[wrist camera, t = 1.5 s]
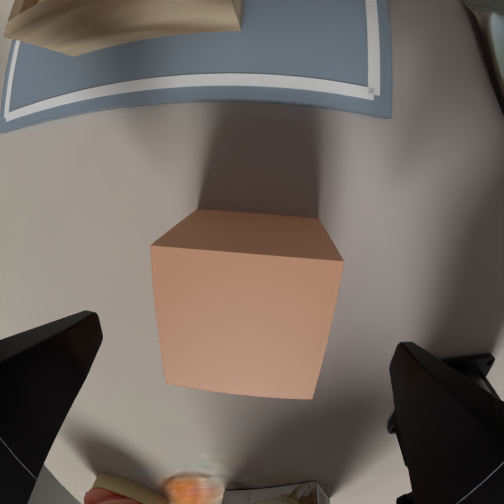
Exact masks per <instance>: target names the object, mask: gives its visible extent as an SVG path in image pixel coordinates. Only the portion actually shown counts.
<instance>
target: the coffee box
mask: <svg viewBox="0 0 504 504" xmlns="http://www.w3.org/2000/svg"><path fill="white" fill-rule="evenodd" d="M222 504H330V499H329V497H328V496H327V495H326V493H325V492H324V491H323V489H322V488H321V487H320V485H319V484H318V482H317V481H311V482H306V483H300V484H294V485H287V486H281V487H272V488H263V489H252V490H236V491H224V494H223V501H222Z"/></svg>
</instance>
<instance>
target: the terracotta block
mask: <svg viewBox="0 0 504 504" xmlns="http://www.w3.org/2000/svg"><path fill="white" fill-rule="evenodd" d="M150 248H151V264H152V277H153V289H154V299H155V309H156V318H157V326H158V334H159V342H160V349H161V355H162V362H163V368H164V374H165V380H166V384H171V385H176V386H182V387H187V388H193V389H200V390H206V391H213V392H220V393H228V394H237V395H246V396H257V397H270V398H286V399H312V398H313V395H314V391H315V388H316V384H317V381H318V377H319V373H320V370H321V366H322V362H323V358H324V354H325V350H326V346H327V342H328V338H329V334H330V329H331V325H332V320H333V316H334V311H335V307H336V302H337V297H338V292H339V287H340V282H341V276H342V271H343V265H344V260H343V259H342V257H341V255H340V253H339V252H338V250H337V248H336V247H335V245H334V243H333V242H332V240H331V238H330V237H329V235H328V233H327V232H326V230H325V228H324V227H323V225H322V223H321V222H320V220H319V219H318V218H311V217H300V216H289V215H277V214H264V213H251V212H237V211H222V210H206V209H197V210H195V211H194V212H193V213H191V214H190V215H189V216H187V217H186V218H185V219H183V220H182V221H181V222H180V223H178V224H177V225H176V226H174V227H173V228H172V229H171V230H169V231H168V232H167V233H165V234H164V235H163V236H162V237H160V238H159V239H158V240H157V241H155V242H154V243H153V244H152V245H150Z"/></svg>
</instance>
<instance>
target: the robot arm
mask: <svg viewBox="0 0 504 504" xmlns="http://www.w3.org/2000/svg"><path fill="white" fill-rule="evenodd" d="M102 340H103V334H102V329H101V325H100V321H99V317H98V315H97V313H95V312H91V311H87V310H86V311H82V312H79V313H76V314H73V315H70V316H68V317H65V318H62V319H59V320H56V321H53V322H50V323H48V324H45V325H42V326H39V327H36V328H33V329H30V330H27V331H25V332H22V333H19V334H16V335H13V336H10V337H7V338H4V339H2V340H0V504H28V501H29V498H30V496H31V493H32V491H33V488H34V486H35V483H36V481H37V480H36V479H37V478H38V476H39V473H40V471H41V469H42V466H43V464H44V462H45V460H46V457H47V455H48V453H49V451H50V449H51V446H52V444H53V442H54V440H55V438H56V436H57V434H58V432H59V430H60V428H61V426H62V424H63V422H64V420H65V418H66V416H67V414H68V412H69V410H70V408H71V406H72V404H73V402H74V400H75V398H76V396H77V395H78V393H79V391H80V389H81V387H82V385H83V383H84V381H85V379H86V377H87V375H88V373H89V371H90V368H91V366H92V363H93V361H94V359H95V357H96V354H97V352H98V350H99V347H100V345H101V343H102ZM494 361H495V358H494V356H493V355H492V354H484V355H476V356H469V357H460V358H451V359H441V360H439V359H438V358H436V357H435V356H433V355H432V354H430V353H429V352H427V351H426V350H424V349H422V348H421V347H419V346H418V345H416V344H415V343H413V342H400V343H399V344H398V345H397V347H396V350H395V353H394V355H393V358H392V360H391V363H390V368H389V370H390V377H391V383H392V390H393V397H394V404H395V410H396V412H395V414H394V415H393V417H392V419H391V421H390V422H389V424H388V426H387V430H388V433H390V434H394V433H396V436H397V439H398V442H399V446H400V449H401V452H402V456H403V459H404V463H405V466H406V467H407V468H408V470H409V476H410V481H411V487H412V492H410V493H408V494H404V495H402V496H400V497H398V498H397V501H396V504H504V402H503V401H502V400H501V399H500V398H499V396H498V395H497V393H496V391H495V390H494V388H493V387H492V385H491V384H490V383H489V381H488V380H487V378H486V376H487V374H488V372H489V370H490V369H491V367H492V365H493V363H494Z"/></svg>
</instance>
